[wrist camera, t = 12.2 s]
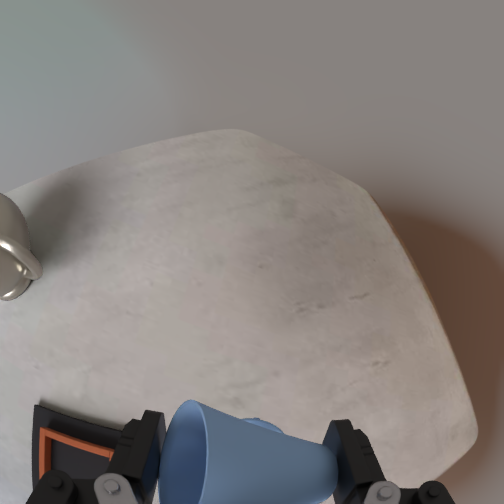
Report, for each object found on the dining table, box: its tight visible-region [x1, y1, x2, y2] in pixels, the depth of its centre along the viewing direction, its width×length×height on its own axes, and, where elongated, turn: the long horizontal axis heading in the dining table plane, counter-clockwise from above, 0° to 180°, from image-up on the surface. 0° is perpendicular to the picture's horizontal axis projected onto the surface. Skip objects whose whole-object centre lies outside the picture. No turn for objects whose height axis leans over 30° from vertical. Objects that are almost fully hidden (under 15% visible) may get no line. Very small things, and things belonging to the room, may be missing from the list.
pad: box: [32, 405, 122, 490], centre depth 19 cm, size 16×14×2 cm
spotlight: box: [158, 400, 338, 504], centre depth 10 cm, size 5×10×7 cm
